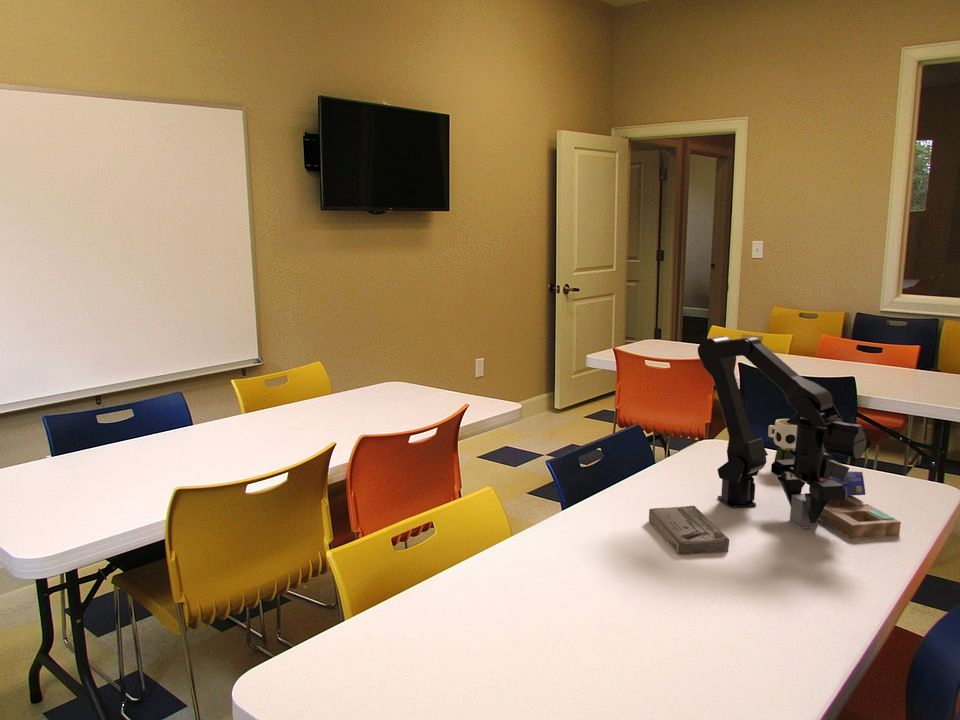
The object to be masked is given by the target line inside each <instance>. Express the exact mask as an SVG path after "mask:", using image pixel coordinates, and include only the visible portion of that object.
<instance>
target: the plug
mask: <svg viewBox="0 0 960 720" xmlns="http://www.w3.org/2000/svg"><path fill="white" fill-rule="evenodd" d="M789 522H790V523H792V524H794V525H795V526H797V527H798V528H800V529H803V528H804V529H806V528H807V529H809V528H818V526H819V519H818V520H817V522H816V523H811V522H810V519H809V514H808V509H807V504H806V499H805V493H801V494H796V495H792V498H791V506H790V512H789Z"/></svg>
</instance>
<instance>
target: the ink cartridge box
mask: <svg viewBox="0 0 960 720" xmlns="http://www.w3.org/2000/svg"><path fill="white" fill-rule="evenodd" d="M827 480H834V481H836V482H837V483H839V484H841V485H843V486H844V487H845V488H846V489H847V495H846V496H865V495H866V488H865V481H864V473H863V472H862V471H856V470H855V471H853V470H850V471H848V473H847V475H846V478H845V480H844V481H841V480H840V479H838V478H835V477H832V476H830V477H829V479H824V478H821V480H820V481H827Z"/></svg>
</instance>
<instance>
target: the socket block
mask: <svg viewBox="0 0 960 720" xmlns="http://www.w3.org/2000/svg"><path fill="white" fill-rule="evenodd" d="M818 520H820V521H822V522H824V523H826V524H827V525H829V526H830V527H831V528H834V529H835V530H836V531H838V532H840V533H841V534H843V535H844V536H846V537H848V538H849V539H850V540H856V539H857V540H858V539H867V538H868V539H869V538H882V537H895V536H900V532H901V523H902V522H901V521H900V520H899V519H896V518H895V517H892V516H891V515H889V514H887V513H885V512H884V511H882V510H879V509H878V508H876V507H874V506H873V505H870V504H869V503H867V502H866V501H863V500H861V499H859V498H858V497H856V496H855V495H853V496H846V499H843V500H830V501H828V502H827V504H826V505H825V507H824V508H823V510H822V512H821V514H820V516H819V518H818Z"/></svg>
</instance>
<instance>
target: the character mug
mask: <svg viewBox="0 0 960 720" xmlns="http://www.w3.org/2000/svg"><path fill="white" fill-rule="evenodd" d="M789 419H790V418H779V419H776V420H775V422H774V424H773V425H772V424H770V425H768V432H767V434H768V437H770V438H771V439H772V438H773V442H774V444H775V445H776V446H777V447H778V448H777V449H776V452H775V456H774V461H775V460H788V459H794V455H792V454H790V451H791V449H795V443H796V431H797V425H793V424H789V423H787V420H789ZM773 430H774V432H773ZM774 461H773V462H774Z"/></svg>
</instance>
